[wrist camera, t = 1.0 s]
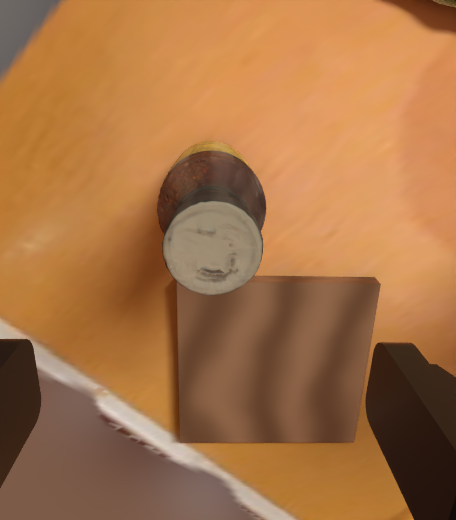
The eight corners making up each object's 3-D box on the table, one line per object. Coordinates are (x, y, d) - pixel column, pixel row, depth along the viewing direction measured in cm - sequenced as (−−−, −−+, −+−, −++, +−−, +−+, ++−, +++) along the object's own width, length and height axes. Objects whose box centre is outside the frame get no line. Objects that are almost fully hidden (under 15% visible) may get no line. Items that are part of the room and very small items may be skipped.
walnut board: (374, 277, 39) (380, 284, 38) (349, 431, 45) (354, 442, 44) (178, 274, 38) (176, 281, 37) (181, 431, 45) (179, 442, 43)
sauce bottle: (221, 227, 37) (225, 358, 18) (159, 186, 35) (96, 285, 17) (265, 164, 35) (321, 239, 16) (202, 118, 34) (185, 146, 15)
